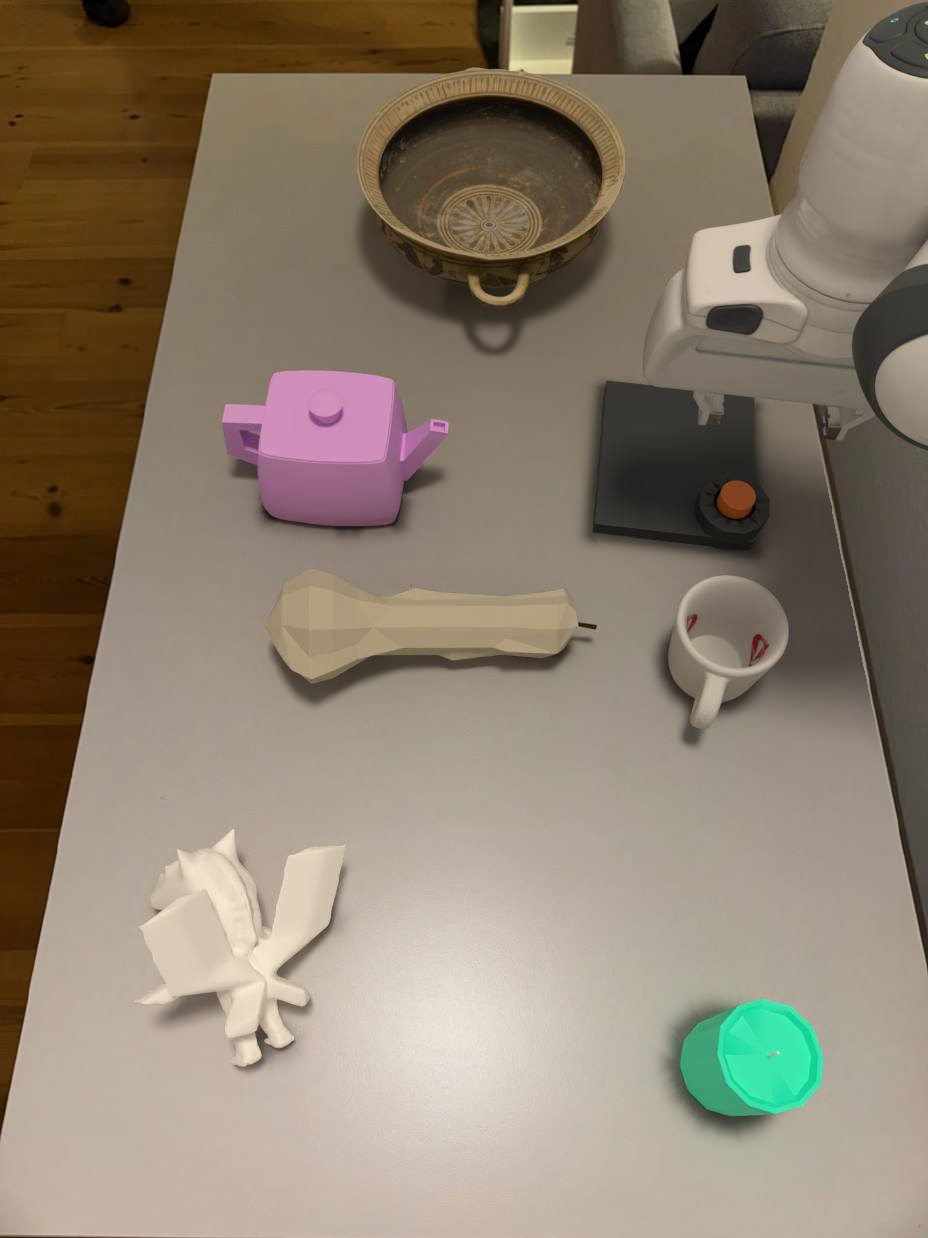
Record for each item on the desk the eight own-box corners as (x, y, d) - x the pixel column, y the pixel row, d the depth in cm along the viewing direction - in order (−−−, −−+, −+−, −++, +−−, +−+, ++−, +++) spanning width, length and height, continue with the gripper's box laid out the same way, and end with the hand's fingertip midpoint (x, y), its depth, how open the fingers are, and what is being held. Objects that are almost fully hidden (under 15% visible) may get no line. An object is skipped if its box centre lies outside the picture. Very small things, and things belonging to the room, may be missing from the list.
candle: (785, 1048, 67) (849, 1032, 57) (749, 1136, 65) (808, 1137, 54) (702, 998, 69) (749, 974, 58) (663, 1083, 66) (705, 1074, 56)
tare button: (751, 492, 84) (756, 482, 82) (750, 521, 83) (756, 511, 81) (716, 488, 84) (721, 478, 83) (716, 517, 83) (720, 507, 81)
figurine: (301, 1002, 75) (249, 816, 76) (396, 1006, 67) (337, 797, 68) (108, 1101, 65) (52, 884, 66) (193, 1120, 57) (127, 872, 58)
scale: (759, 407, 91) (769, 385, 88) (760, 555, 84) (770, 536, 82) (604, 390, 92) (609, 367, 89) (592, 536, 85) (597, 516, 82)
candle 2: (272, 585, 81) (584, 582, 83) (272, 692, 80) (589, 686, 82) (259, 557, 73) (606, 555, 74) (257, 677, 71) (613, 671, 73)
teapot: (452, 433, 89) (452, 354, 80) (443, 537, 85) (443, 465, 75) (247, 422, 90) (224, 341, 80) (227, 524, 85) (200, 451, 76)
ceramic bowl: (363, 139, 106) (355, 47, 97) (593, 133, 107) (606, 43, 98) (365, 367, 92) (356, 286, 84) (628, 359, 93) (647, 278, 84)
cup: (739, 763, 76) (770, 725, 69) (636, 730, 77) (655, 689, 70) (768, 639, 81) (799, 592, 74) (670, 610, 82) (691, 560, 75)
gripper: (1004, 263, 62) (911, 406, 75) (668, 228, 63) (631, 375, 76) (1016, 342, 60) (917, 478, 72) (664, 305, 60) (627, 445, 73)
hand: (768, 425), depth 74 cm, fingers open, 7 cm apart
